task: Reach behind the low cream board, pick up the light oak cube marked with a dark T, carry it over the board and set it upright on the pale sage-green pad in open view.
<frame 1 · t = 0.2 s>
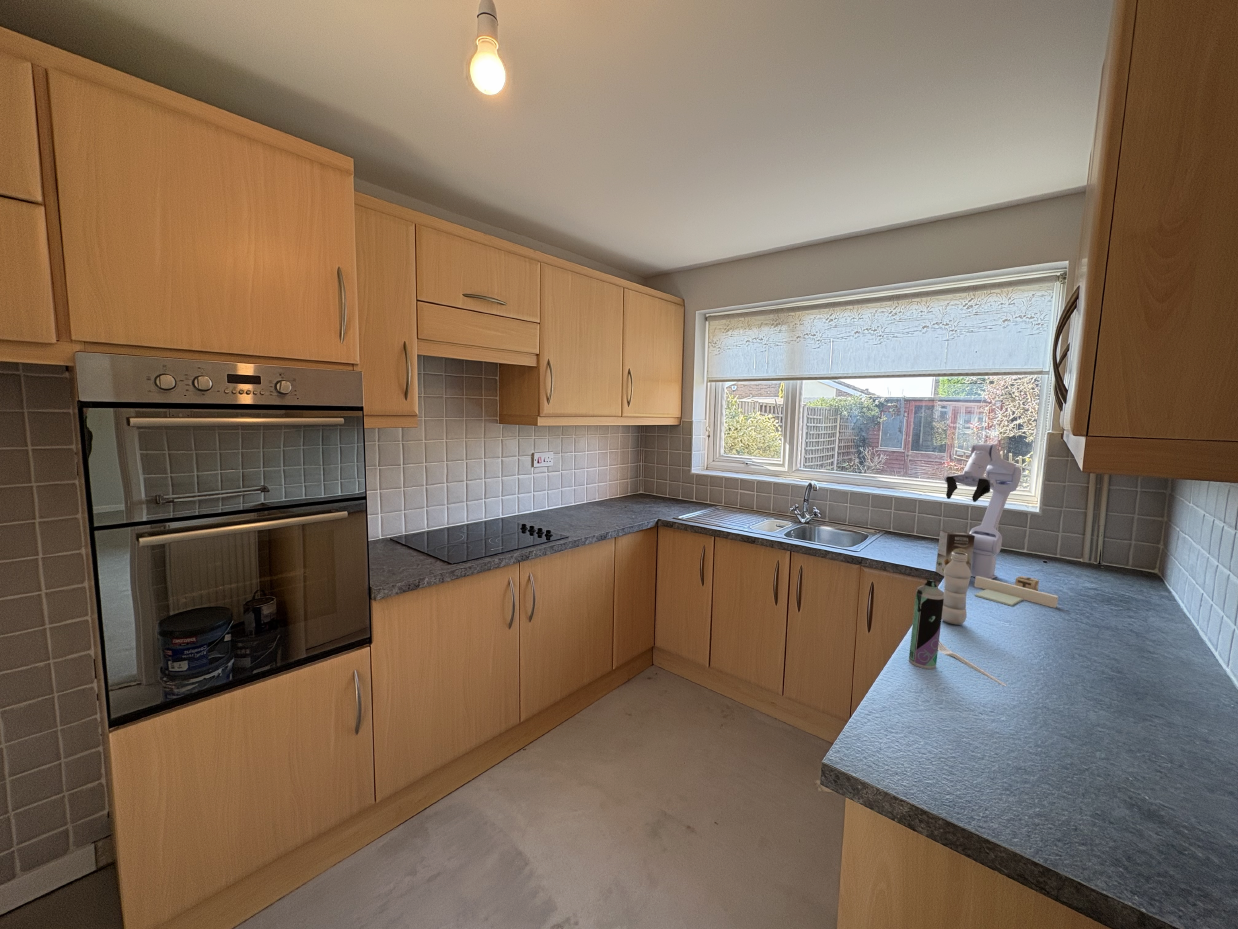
hand: (960, 498, 168), 31 cm above the worktop, tool tilted 50°, fingers open, 7 cm apart
cream board: (1013, 596, 168), on the worktop
lettered cube: (1025, 593, 172), on the worktop
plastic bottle: (951, 623, 143), on the worktop
fork: (966, 666, 119), on the worktop
coffee box: (952, 575, 189), on the worktop
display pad: (998, 598, 165), on the worktop
spray can: (922, 664, 118), on the worktop
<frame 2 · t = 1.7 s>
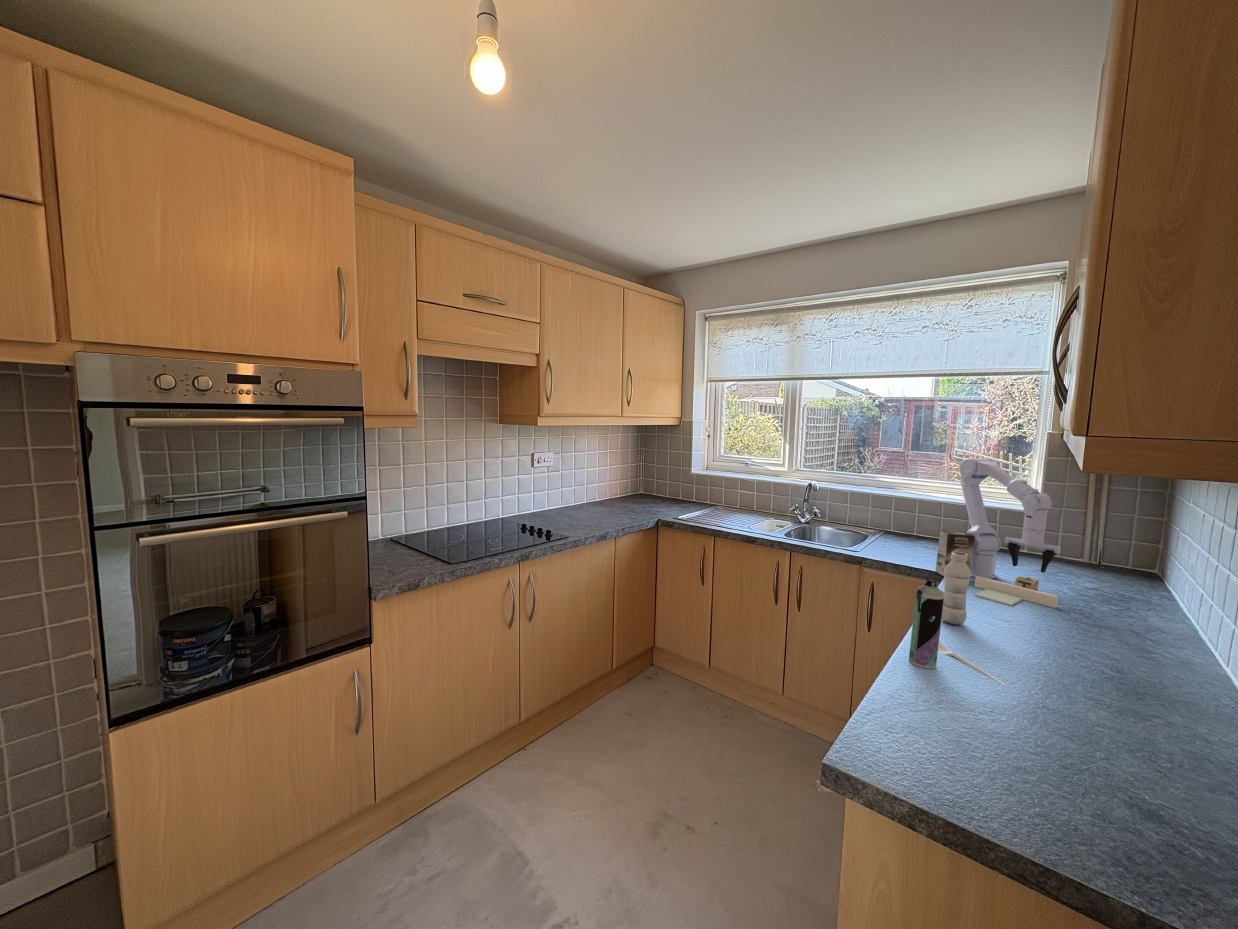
hand: (1028, 568, 171), 8 cm above the worktop, tool pointing down, fingers open, 7 cm apart
coffee box: (952, 575, 189), on the worktop, touching arm
everything else where it was.
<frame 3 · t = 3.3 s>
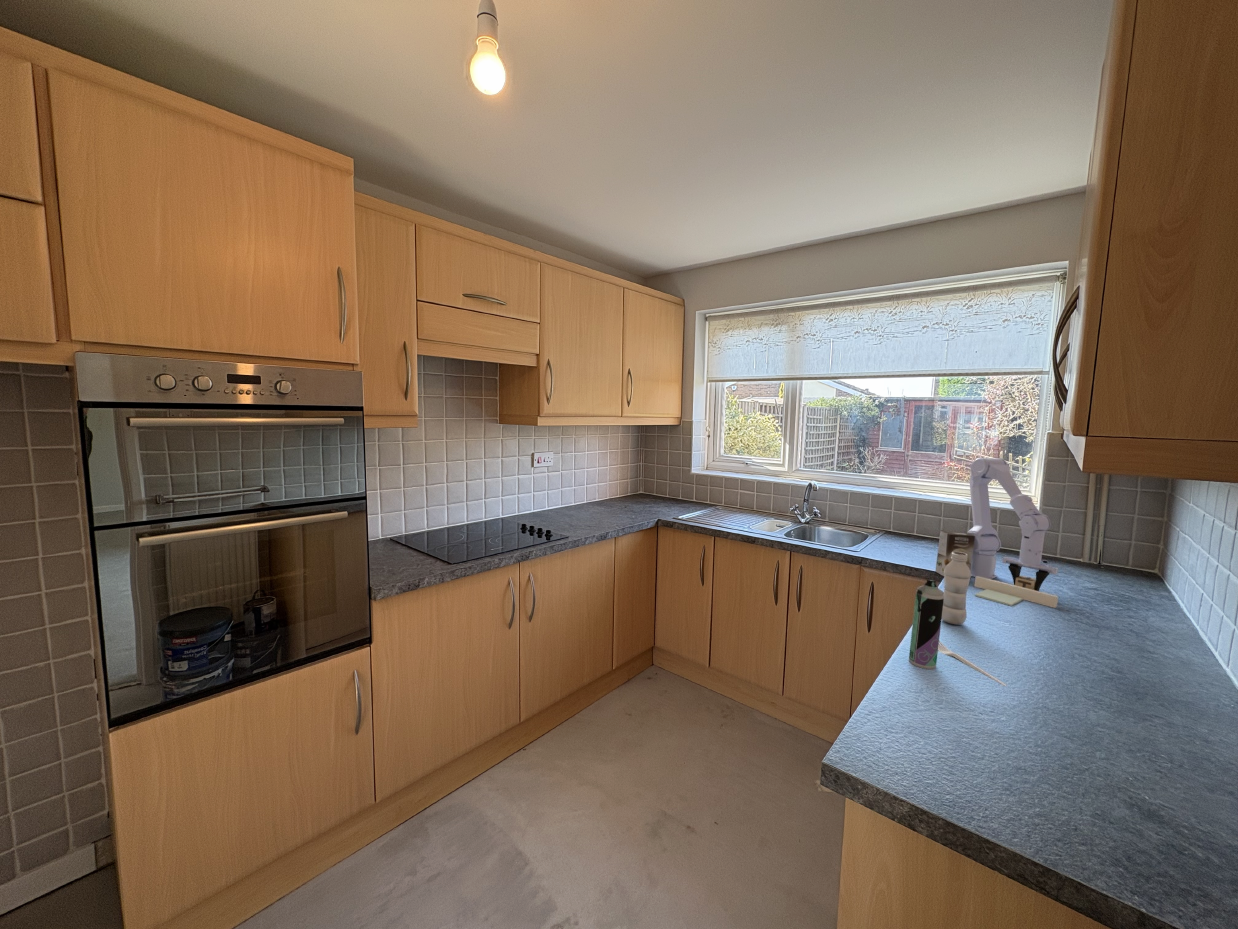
hand: (1026, 589, 171), 1 cm above the worktop, tool pointing down, fingers closed on lettered cube, 5 cm apart
lettered cube: (1025, 593, 172), on the worktop, touching gripper
coffee box: (952, 575, 189), on the worktop
everything else where it was.
when the fingers open (4 cm above the worktop, at t = 7.5 s): lettered cube drops 2 cm, resting on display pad.
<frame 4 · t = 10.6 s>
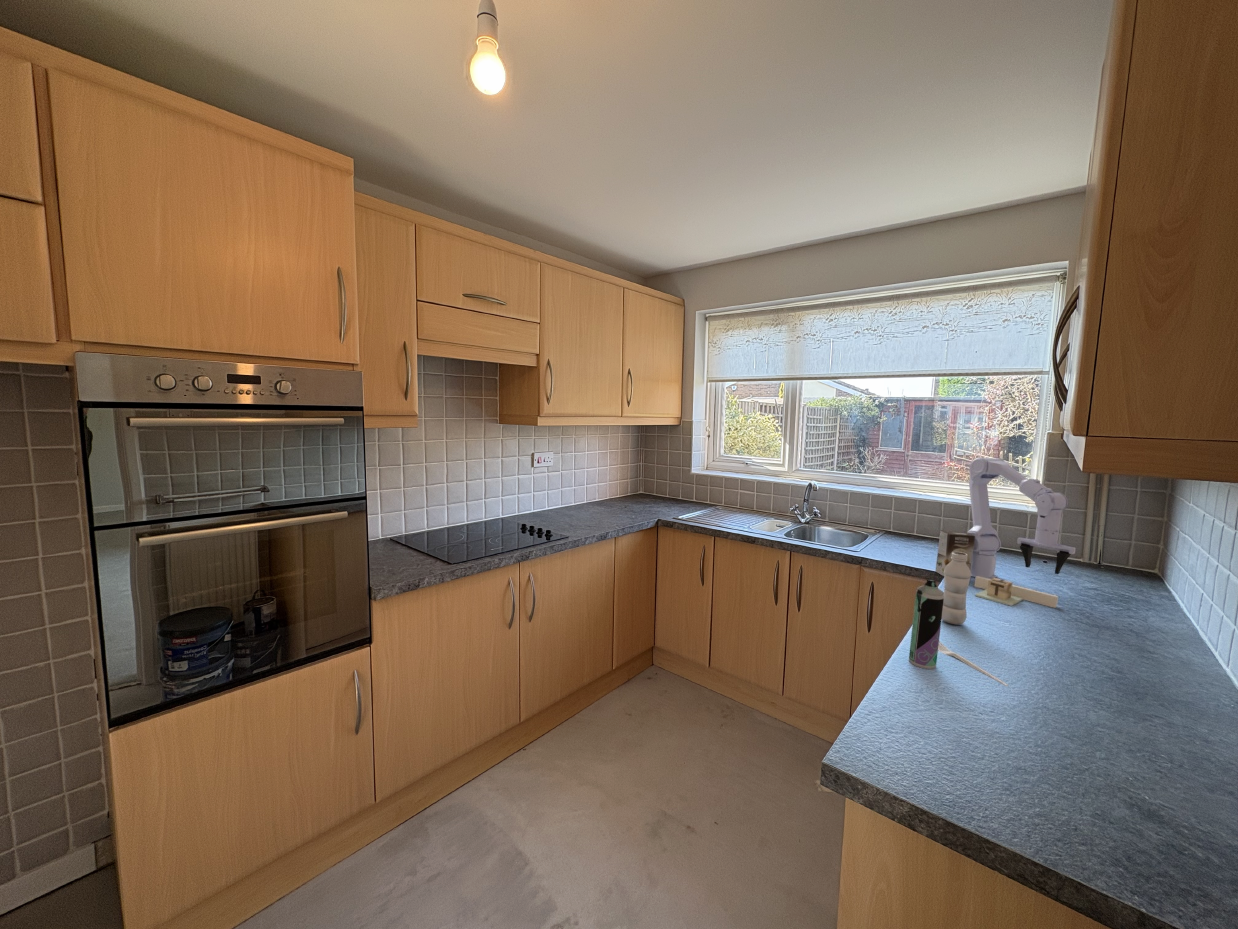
hand: (1042, 570, 166), 9 cm above the worktop, tool pointing down, fingers open, 7 cm apart
lettered cube: (998, 596, 165), point 1 cm above the worktop, touching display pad
coffee box: (952, 575, 189), on the worktop, touching arm
everything else where it was.
at the end: lettered cube inside the target area (0.2 cm from its centre), point 0.6 cm above the worktop; lettered cube tilted 0°; the gripper is holding nothing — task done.
